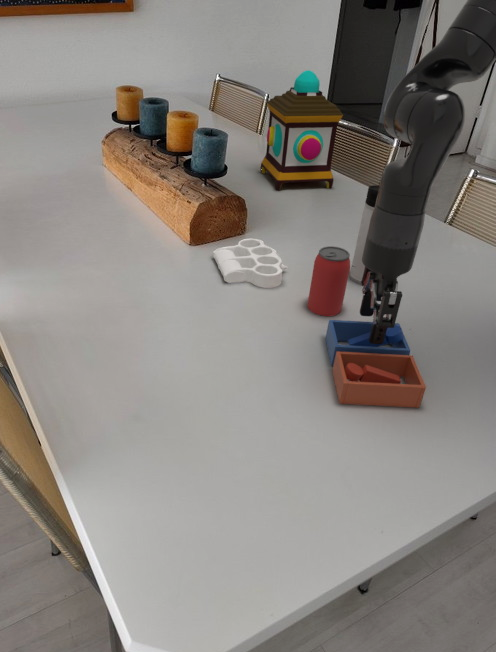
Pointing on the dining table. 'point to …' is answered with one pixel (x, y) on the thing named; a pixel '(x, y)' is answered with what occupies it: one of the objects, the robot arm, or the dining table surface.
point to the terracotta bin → (379, 392)
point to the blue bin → (352, 329)
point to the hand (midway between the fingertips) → (370, 328)
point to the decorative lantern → (301, 134)
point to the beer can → (329, 281)
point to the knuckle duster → (250, 263)
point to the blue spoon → (391, 336)
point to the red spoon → (370, 374)
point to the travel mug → (363, 235)
